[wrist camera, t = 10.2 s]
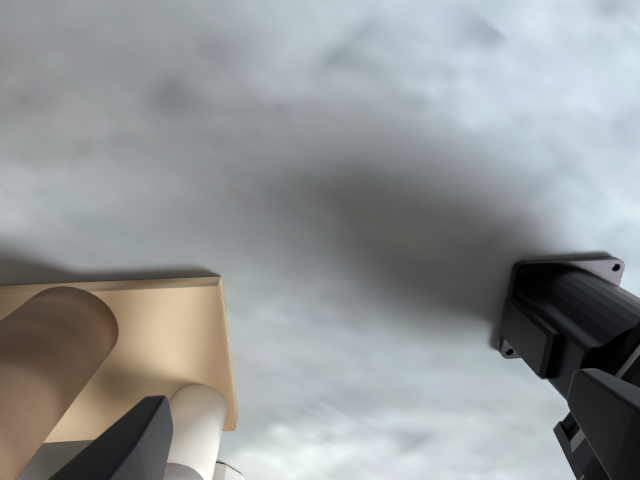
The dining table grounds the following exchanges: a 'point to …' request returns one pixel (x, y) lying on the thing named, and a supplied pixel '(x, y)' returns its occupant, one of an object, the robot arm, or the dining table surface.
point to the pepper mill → (47, 366)
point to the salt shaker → (195, 432)
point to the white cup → (226, 473)
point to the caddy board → (147, 348)
